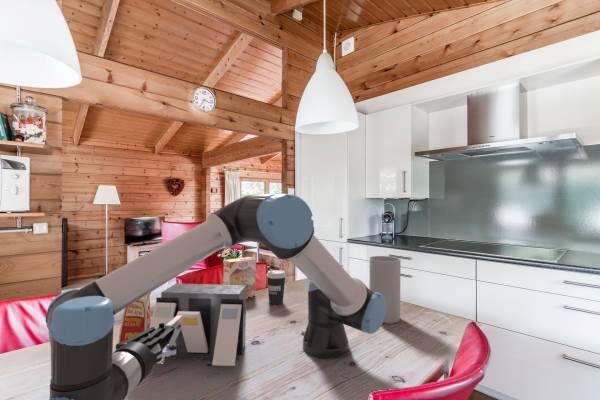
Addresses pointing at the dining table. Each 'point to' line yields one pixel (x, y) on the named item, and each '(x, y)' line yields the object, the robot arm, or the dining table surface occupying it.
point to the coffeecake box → (241, 273)
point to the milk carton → (135, 318)
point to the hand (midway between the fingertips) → (179, 320)
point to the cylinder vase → (386, 284)
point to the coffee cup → (276, 286)
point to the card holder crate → (206, 312)
